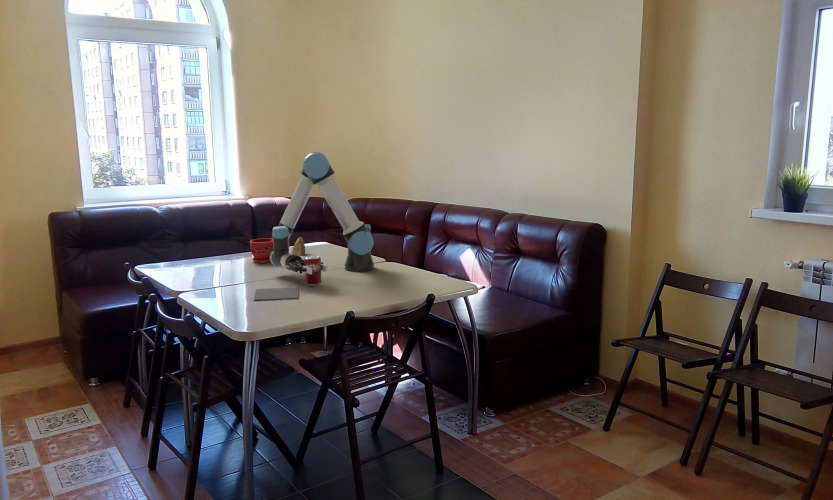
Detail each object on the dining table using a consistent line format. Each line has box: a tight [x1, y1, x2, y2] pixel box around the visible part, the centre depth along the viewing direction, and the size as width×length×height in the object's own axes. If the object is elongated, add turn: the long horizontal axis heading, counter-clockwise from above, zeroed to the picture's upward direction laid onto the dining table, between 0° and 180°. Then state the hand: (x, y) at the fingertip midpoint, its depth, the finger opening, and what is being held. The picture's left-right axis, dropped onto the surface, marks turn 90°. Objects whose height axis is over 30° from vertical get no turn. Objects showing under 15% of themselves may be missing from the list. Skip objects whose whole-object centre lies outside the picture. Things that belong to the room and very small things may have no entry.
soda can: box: [303, 255, 322, 286], centre depth 276 cm, size 7×7×12 cm
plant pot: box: [249, 237, 273, 264], centre depth 330 cm, size 13×13×12 cm
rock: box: [290, 236, 306, 256], centre depth 352 cm, size 11×9×10 cm
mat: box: [253, 286, 300, 302], centre depth 262 cm, size 18×18×1 cm
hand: (318, 269), depth 272 cm, fingers closed on soda can, 7 cm apart
